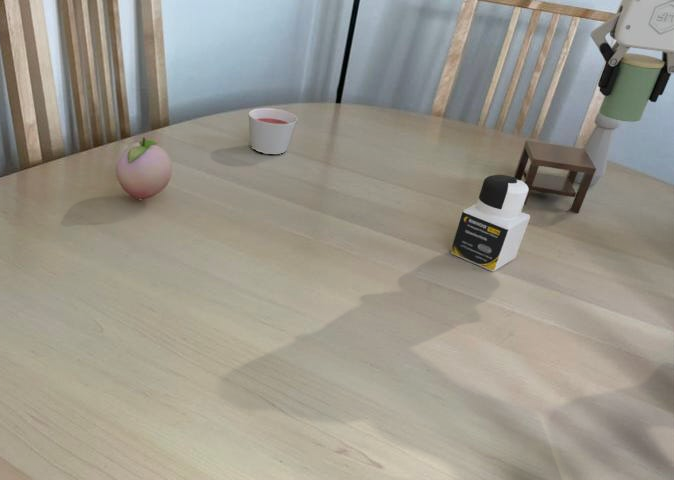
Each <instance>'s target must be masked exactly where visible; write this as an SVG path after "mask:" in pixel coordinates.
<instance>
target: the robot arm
mask: <svg viewBox="0 0 674 480" xmlns="http://www.w3.org/2000/svg"><path fill="white" fill-rule="evenodd" d="M608 34H609V36H610V37H611V38H612V39H614V40H615V42H614V43H613V45H612V46H611V45H610V43H609V42H608V40H607V39H606V36H607V35H608ZM590 38H591V40H592V41H593V43H594V44H595V45H596V47H597V48H598V50H599V52H600V54H601V56H602V58H603V59H604V61H605V64H604V66H603V69H602V72H601V74H600V77H599V80H598V83H597V87H598V88H599V92H600V93H601V94H602V96H604V97H605V96H608V95H610V93H611V91H612V88H613V85H614V83H615V80H616V78H617V75H618V72H619V69H620V68H619V67H618V64H619V61H620V60H621V58H622V57H623V56H624V55H625V53H628V51H629V50H630V48H633V49H640V50H648V51H654V52H655V51H656V52H661V60H663V61H664V62H665V64H664V66H663V67H662V69H661V71H660V74H659V76H658V79H657V81H656V83H655V86H654V88H653V91H652V93H651V95H650V98H649V100H648V101H650V102H651V103H656V102H657V101H658V99H659V96H663V94H664V92H665V91H666V88H667V85H668V83H669V81H670V78H671V75H672V74H674V0H621V1H620V3H619V5H618V7H617V10H616V12H615V14H614V15H613V16H611V17H610V18H609V19H607V20H606V21H604V22H603V23H602V24H600V25H598V26H597V27H596V28H595V29H593V30H592V31H591V32H590Z"/></svg>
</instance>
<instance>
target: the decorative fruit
mask: <svg viewBox="0 0 674 480" xmlns="http://www.w3.org/2000/svg"><path fill="white" fill-rule="evenodd" d="M172 166H173V165H172V161H171V158H170V156H169V155H168V153H167V152H166V150H164V149H163V148H161V147H160V146H159V145H157V142H156V141H155V140H151V139H147V138H146V137H142V140H140V141H138V142H135V143H132V144H130V145H128V146H127V147H126V148H125V149H124V152H123V153H122V154H121V156H120V157H119V158H118V160H117V163H116V164H115V175H116V180H117V181H118V184H119V185H120V187H121V188H122V189H123V191H124V192H125V193H126V194H127V195H129V196H130V197H131V198H134V199H136V198H137V199H136V200H138V199H143V200H146V199H150V198H153V197H154V196H156V195H158V194H159V193H160V192H162V191H164V189H166V187H167V186H168V184H169V182H170V180H171V178H172V173H173V172H172V171H173V169H172V168H173V167H172Z"/></svg>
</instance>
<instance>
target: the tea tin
mask: <svg viewBox="0 0 674 480" xmlns="http://www.w3.org/2000/svg"><path fill="white" fill-rule="evenodd" d="M664 64H665V62H664V61H663V60H662V58H657V57H655V56H651V55H646V54H639V53H634V52H633V53H630V52H626V53H625V55H624V56H623V57H622V58H621V60H620V61H619V64H618V67H619V68H620V69H619V72H618V75H617V78H616V80H615V83H614V85H613V88H612V91H611V93H610V95H608V96H604V97H603V100H602V103H601V105H600V108H599V110H598V113H599V112H600V114H602V115H604V116H606V117H609V118H612V119H616V120H621V122H631V123H635V122H639V121H641V119H642V117H643V114H644V112H645V110H646V107H647V105H648V102H649V101H650V100H649V98H650V95H651V93H652V91H653V88H654V86H655V83H656V81H657V79H658V76H659V74H660V71H661V69H662V67H663V66H664Z"/></svg>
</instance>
